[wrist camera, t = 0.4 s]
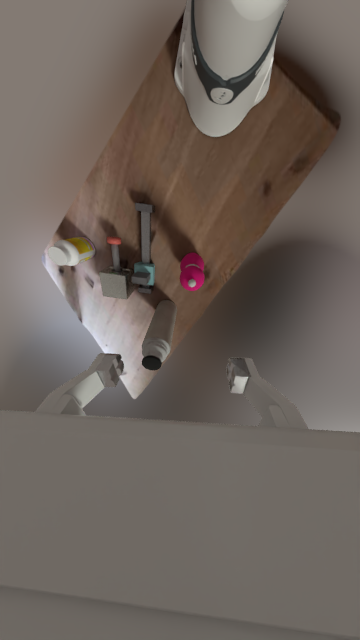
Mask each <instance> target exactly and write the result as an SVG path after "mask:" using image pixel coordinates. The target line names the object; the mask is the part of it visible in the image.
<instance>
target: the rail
mask: <svg viewBox="0 0 360 640" xmlns="http://www.w3.org/2000/svg"><path fill="white" fill-rule="evenodd" d="M135 206H136V210H137V211H141V235H142V264H148V265H150V264H151V213H155V206H153V205H147V204H140V203H135ZM152 291H153V286H152V285H142V284H141V285H140V286H139V288H138V292H142V293H149V294H151V293H152Z"/></svg>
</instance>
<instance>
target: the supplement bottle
mask: <svg viewBox="0 0 360 640" xmlns="http://www.w3.org/2000/svg"><path fill="white" fill-rule="evenodd" d="M48 255H49V257H50V259H51V260H52V261H53V262H54V263H55V264H57V265H68V266H74V265H76V264H79V263H81V262H84V261H86V260H88V259H91V258H92V257H93V256H94V255H95V248H94V245H93V244H92V242H91V241H90V240H89V239H87V238H85V237H76V238H71V239H65V240H60V241H57V242H56V243H55V244H54V246H52V247H50V248H49V249H48Z"/></svg>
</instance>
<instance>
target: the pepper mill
mask: <svg viewBox="0 0 360 640" xmlns="http://www.w3.org/2000/svg"><path fill="white" fill-rule="evenodd" d="M180 267H181V271H182V272H181V274H180V282H181V285H182V286H183V287H184V288H185V289H187V290H189V291H194V290H197V289H199V288H200V287H201V286H202V285H203V283H204V273H203V269H204V262H203V259H202V258H201V257H200V256H199V255H198V254H196V253H188V254H187V255H186V256H185V257H184V258H183V259H182V261H181V265H180Z"/></svg>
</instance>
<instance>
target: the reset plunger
mask: <svg viewBox="0 0 360 640" xmlns="http://www.w3.org/2000/svg"><path fill="white" fill-rule="evenodd" d="M107 243H109V244H111V249H112V257H113V265H114V272H121V269H120V259H119V249H118V244H121V238H119V237H107Z"/></svg>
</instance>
